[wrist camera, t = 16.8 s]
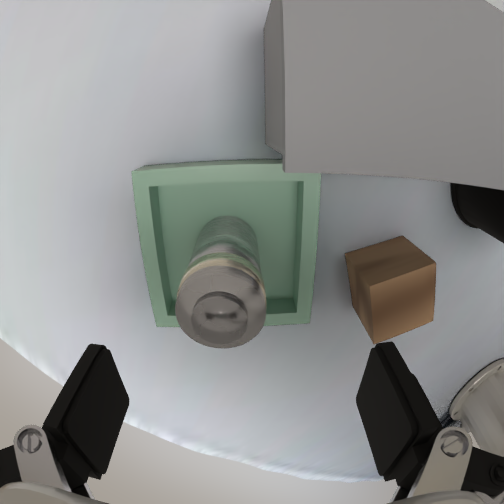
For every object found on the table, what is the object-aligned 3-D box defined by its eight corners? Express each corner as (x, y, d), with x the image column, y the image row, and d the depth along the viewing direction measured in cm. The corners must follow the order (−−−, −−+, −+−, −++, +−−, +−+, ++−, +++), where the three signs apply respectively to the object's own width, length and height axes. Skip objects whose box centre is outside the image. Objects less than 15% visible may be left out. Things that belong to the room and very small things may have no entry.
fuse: (258, 271, 21) (267, 357, 13) (199, 272, 21) (178, 357, 13) (258, 213, 19) (270, 278, 12) (194, 215, 19) (163, 280, 11)
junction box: (445, 162, 19) (549, 199, 9) (260, 148, 18) (284, 173, 9) (445, 57, 15) (547, 44, 6) (258, 24, 15) (278, -65, 5)
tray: (303, 304, 23) (309, 323, 21) (163, 307, 23) (156, 326, 20) (311, 159, 19) (321, 164, 16) (144, 165, 18) (131, 171, 16)
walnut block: (404, 287, 23) (433, 320, 19) (352, 305, 24) (373, 344, 19) (401, 235, 21) (436, 262, 17) (344, 253, 22) (369, 286, 17)
